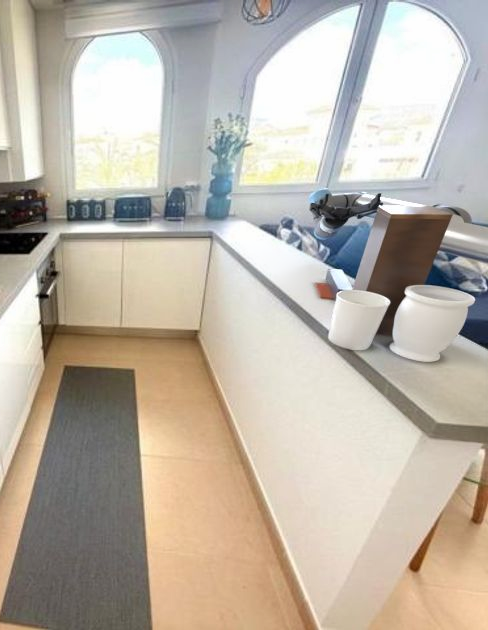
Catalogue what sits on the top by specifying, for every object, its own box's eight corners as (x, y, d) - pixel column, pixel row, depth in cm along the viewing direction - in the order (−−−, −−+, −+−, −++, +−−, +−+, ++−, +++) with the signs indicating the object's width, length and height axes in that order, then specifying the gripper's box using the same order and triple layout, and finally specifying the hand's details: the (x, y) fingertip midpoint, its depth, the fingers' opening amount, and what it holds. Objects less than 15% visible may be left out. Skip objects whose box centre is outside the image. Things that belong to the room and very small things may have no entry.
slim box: (338, 280, 119) (342, 269, 117) (351, 303, 103) (355, 290, 101) (324, 279, 120) (327, 268, 119) (334, 301, 105) (338, 289, 103)
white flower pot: (382, 353, 80) (400, 307, 75) (334, 350, 82) (348, 305, 77) (361, 333, 88) (375, 290, 83) (317, 331, 91) (329, 289, 86)
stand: (389, 318, 94) (432, 205, 81) (402, 337, 85) (453, 214, 72) (344, 313, 98) (378, 205, 85) (352, 331, 90) (391, 213, 77)
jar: (396, 362, 76) (422, 301, 70) (374, 339, 85) (395, 283, 79) (457, 368, 73) (490, 304, 67) (428, 343, 82) (454, 285, 76)
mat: (351, 287, 115) (351, 285, 114) (360, 302, 104) (360, 300, 104) (315, 284, 119) (315, 282, 119) (320, 298, 109) (321, 296, 108)
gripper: (374, 230, 125) (401, 209, 105) (294, 228, 135) (304, 208, 116) (377, 210, 125) (404, 185, 106) (296, 209, 136) (308, 187, 116)
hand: (352, 197), depth 111 cm, fingers open, 13 cm apart
